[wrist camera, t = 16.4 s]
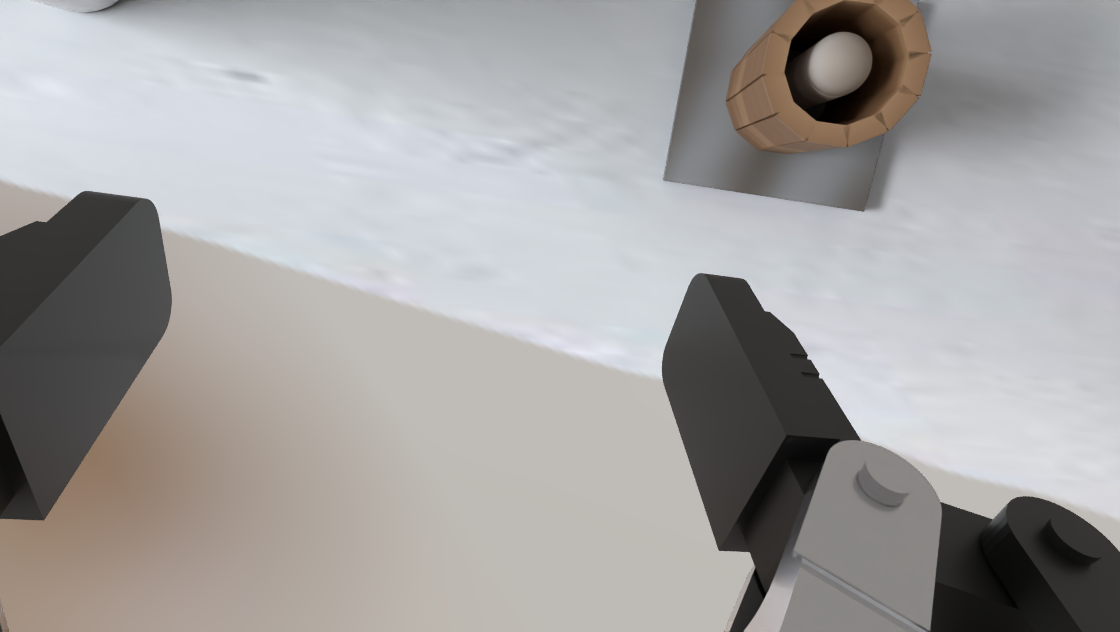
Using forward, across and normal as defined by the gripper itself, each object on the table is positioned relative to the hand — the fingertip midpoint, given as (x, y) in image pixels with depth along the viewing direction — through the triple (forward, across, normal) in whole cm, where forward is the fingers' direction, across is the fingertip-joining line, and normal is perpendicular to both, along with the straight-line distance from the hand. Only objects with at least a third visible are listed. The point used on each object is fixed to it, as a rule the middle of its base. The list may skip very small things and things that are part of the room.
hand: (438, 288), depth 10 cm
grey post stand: (+26, -17, +2) cm, 31 cm away
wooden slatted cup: (+25, -17, +2) cm, 30 cm away
